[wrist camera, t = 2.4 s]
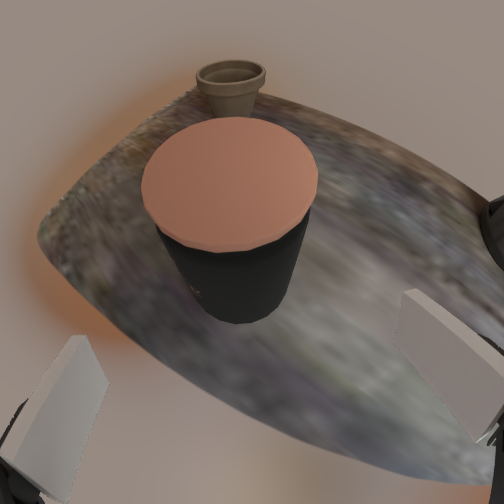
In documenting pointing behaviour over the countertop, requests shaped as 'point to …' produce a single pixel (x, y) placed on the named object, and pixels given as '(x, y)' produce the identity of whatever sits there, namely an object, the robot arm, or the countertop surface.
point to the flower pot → (231, 86)
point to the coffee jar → (232, 211)
